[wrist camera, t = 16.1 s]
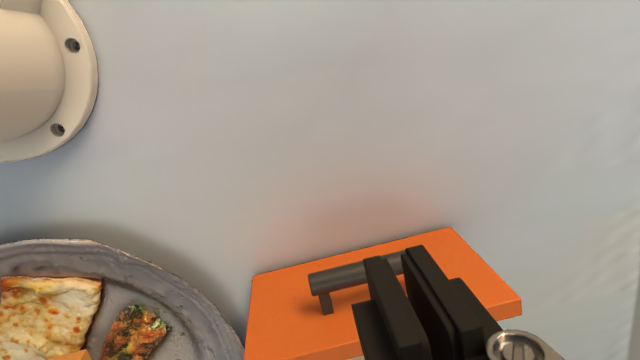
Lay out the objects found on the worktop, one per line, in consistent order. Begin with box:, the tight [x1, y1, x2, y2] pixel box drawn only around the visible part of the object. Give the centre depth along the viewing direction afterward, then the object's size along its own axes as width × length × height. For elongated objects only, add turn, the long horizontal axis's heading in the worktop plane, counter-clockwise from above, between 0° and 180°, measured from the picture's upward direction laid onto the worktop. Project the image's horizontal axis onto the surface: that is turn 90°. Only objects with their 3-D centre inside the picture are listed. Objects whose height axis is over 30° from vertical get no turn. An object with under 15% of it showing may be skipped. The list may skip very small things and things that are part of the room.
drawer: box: [243, 227, 522, 360], centre depth 28 cm, size 17×16×10 cm
